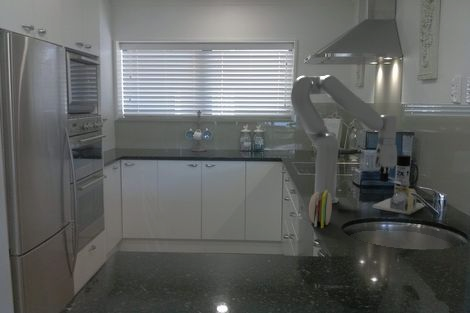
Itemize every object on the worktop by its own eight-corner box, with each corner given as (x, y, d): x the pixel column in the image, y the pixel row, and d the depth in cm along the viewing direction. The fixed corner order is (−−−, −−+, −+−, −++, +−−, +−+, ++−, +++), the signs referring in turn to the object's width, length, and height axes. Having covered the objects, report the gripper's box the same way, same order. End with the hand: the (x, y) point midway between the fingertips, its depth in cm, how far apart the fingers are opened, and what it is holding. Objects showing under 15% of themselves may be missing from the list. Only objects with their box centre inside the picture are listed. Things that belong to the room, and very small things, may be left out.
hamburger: (310, 218, 171) (311, 188, 170) (331, 220, 169) (333, 190, 167) (306, 226, 160) (307, 194, 158) (329, 228, 157) (330, 196, 156)
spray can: (391, 194, 220) (394, 155, 218) (397, 192, 225) (400, 154, 223) (404, 196, 216) (407, 156, 213) (410, 194, 221) (413, 155, 218)
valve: (409, 214, 180) (411, 191, 179) (372, 207, 190) (373, 186, 189) (424, 206, 195) (426, 185, 194) (389, 200, 206) (390, 180, 204)
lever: (411, 186, 189) (411, 182, 189) (404, 186, 188) (404, 182, 188) (388, 179, 204) (389, 176, 204) (382, 180, 203) (382, 176, 203)
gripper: (381, 143, 191) (378, 183, 193) (404, 142, 198) (401, 181, 200) (368, 141, 197) (366, 181, 199) (391, 140, 204) (388, 178, 207)
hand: (383, 181), depth 200 cm, fingers closed
